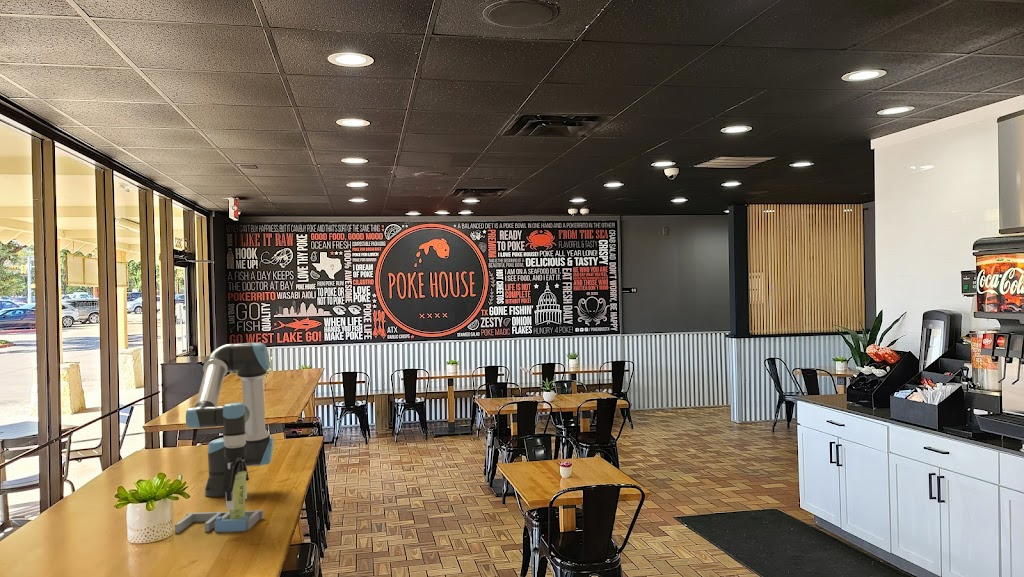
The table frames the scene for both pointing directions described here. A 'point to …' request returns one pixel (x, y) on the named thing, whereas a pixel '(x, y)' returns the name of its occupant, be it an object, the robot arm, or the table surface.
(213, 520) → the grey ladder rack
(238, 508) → the tube
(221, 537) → the table surface
